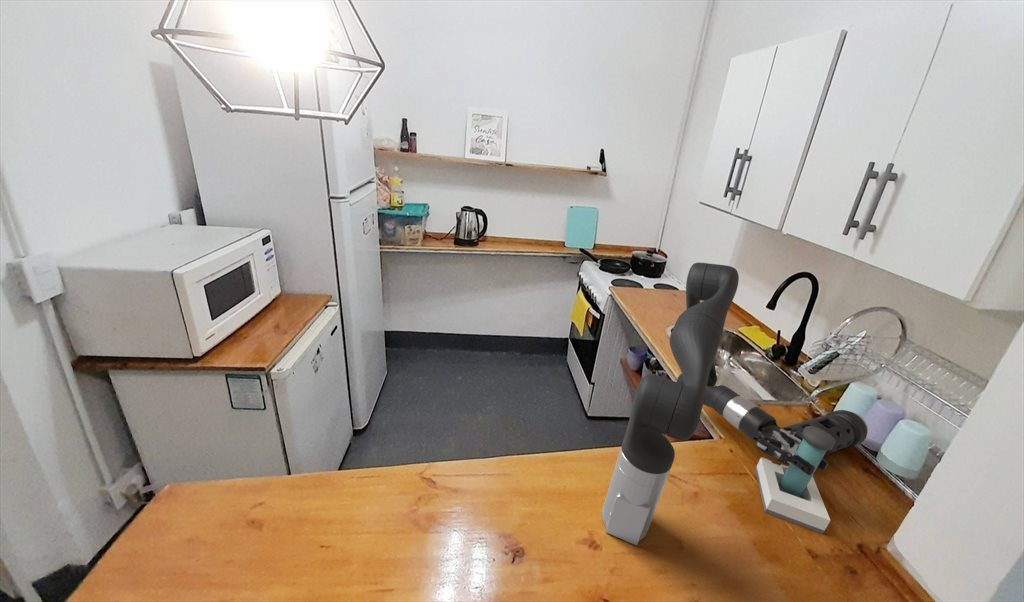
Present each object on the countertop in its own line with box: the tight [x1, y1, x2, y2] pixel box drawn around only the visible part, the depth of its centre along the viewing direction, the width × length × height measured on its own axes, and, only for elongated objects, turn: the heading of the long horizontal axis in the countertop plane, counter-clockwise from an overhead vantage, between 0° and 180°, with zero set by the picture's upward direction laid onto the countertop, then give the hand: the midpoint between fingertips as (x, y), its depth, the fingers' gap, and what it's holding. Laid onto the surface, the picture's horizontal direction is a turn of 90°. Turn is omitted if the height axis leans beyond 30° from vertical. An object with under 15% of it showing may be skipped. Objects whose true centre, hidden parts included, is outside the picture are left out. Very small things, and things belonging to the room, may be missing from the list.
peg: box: [780, 426, 836, 497], centre depth 89 cm, size 6×6×16 cm
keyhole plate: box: [754, 456, 831, 535], centre depth 92 cm, size 14×11×4 cm
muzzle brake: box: [782, 409, 869, 456], centre depth 109 cm, size 10×28×10 cm, turn 115°
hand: (819, 469), depth 86 cm, fingers closed on peg, 4 cm apart
